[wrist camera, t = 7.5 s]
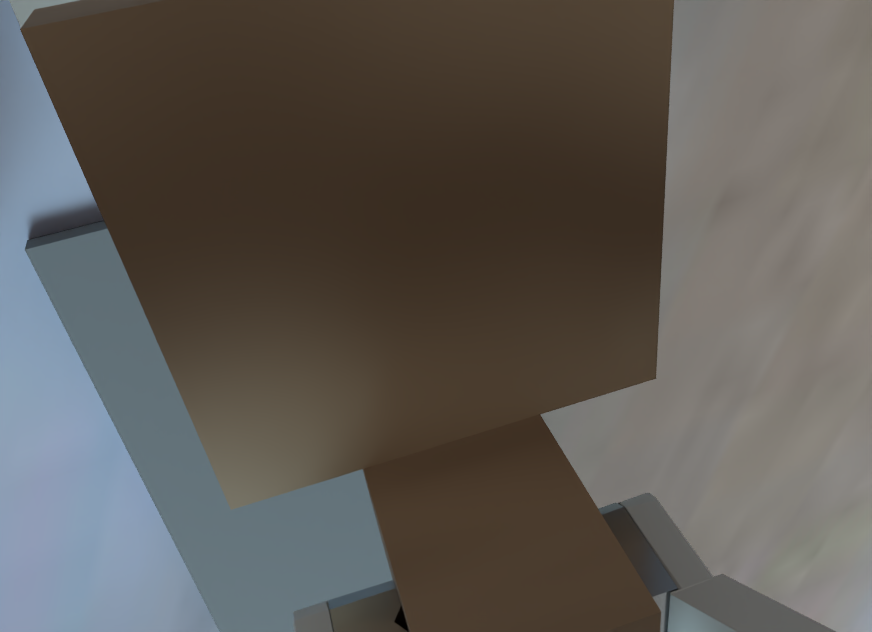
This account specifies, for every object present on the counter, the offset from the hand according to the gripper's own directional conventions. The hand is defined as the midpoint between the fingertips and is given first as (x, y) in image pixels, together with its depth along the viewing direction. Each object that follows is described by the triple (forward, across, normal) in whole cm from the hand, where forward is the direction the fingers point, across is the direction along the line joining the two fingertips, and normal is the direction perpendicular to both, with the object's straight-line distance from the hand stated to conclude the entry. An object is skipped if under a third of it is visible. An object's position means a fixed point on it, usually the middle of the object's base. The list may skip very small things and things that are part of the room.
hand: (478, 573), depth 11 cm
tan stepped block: (+1, 0, -2) cm, 2 cm away
